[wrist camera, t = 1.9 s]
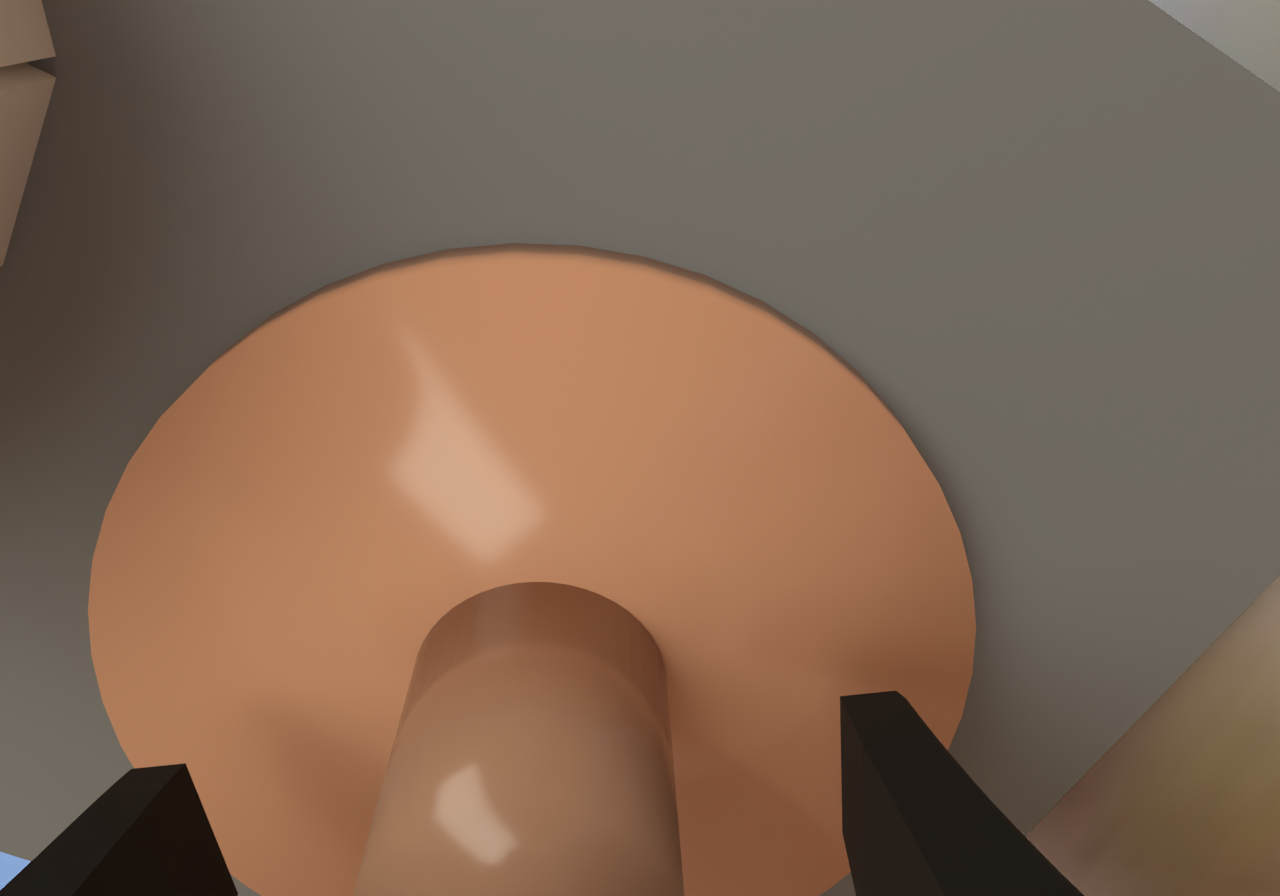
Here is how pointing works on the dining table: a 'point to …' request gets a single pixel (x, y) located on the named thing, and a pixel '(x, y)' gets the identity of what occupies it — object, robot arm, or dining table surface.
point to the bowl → (20, 102)
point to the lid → (525, 585)
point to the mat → (707, 244)
